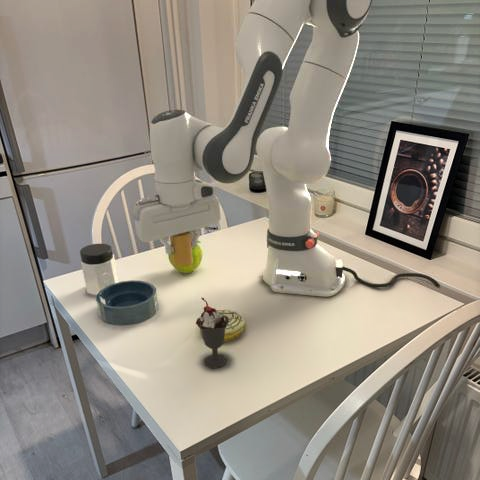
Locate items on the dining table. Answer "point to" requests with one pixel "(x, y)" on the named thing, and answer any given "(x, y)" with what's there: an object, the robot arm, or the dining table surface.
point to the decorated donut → (232, 324)
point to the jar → (98, 267)
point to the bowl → (127, 302)
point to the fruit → (195, 256)
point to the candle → (182, 249)
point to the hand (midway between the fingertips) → (181, 250)
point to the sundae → (213, 334)
